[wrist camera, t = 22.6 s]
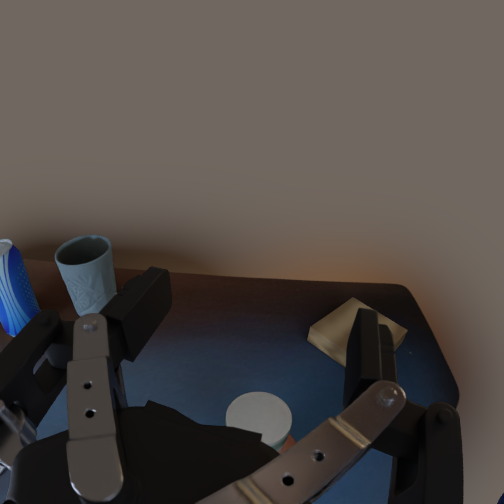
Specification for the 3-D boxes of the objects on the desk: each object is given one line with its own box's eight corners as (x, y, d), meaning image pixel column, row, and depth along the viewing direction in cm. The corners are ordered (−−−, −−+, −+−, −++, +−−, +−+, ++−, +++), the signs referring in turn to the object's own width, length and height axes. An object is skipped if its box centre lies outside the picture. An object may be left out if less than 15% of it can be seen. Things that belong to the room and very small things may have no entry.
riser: (401, 342, 49) (407, 330, 47) (365, 382, 42) (371, 369, 40) (349, 309, 56) (352, 297, 55) (307, 340, 49) (310, 326, 48)
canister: (279, 437, 33) (292, 393, 28) (278, 481, 28) (292, 447, 23) (229, 433, 34) (229, 388, 29) (223, 476, 28) (221, 441, 23)
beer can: (47, 333, 45) (17, 252, 37) (7, 347, 40) (-29, 268, 32) (41, 306, 50) (17, 231, 42) (5, 318, 46) (-23, 245, 38)
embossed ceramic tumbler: (124, 287, 58) (114, 232, 52) (120, 322, 50) (106, 262, 44) (77, 291, 56) (63, 237, 50) (67, 325, 47) (47, 267, 41)
